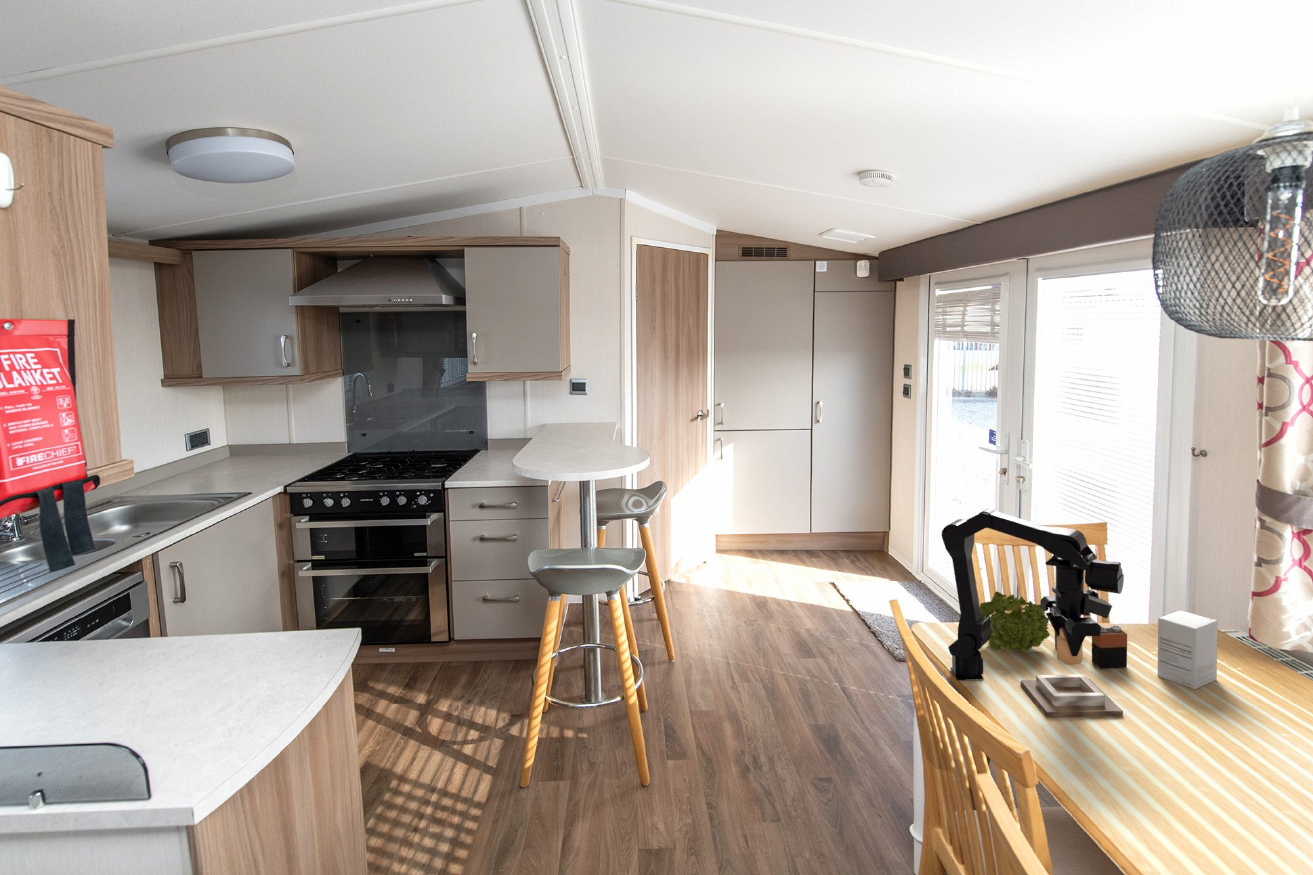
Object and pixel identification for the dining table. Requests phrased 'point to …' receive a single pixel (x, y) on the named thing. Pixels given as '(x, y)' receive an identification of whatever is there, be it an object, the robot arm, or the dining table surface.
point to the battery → (1110, 648)
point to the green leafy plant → (1015, 623)
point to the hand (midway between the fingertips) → (1069, 650)
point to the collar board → (1070, 696)
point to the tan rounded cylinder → (1066, 651)
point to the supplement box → (1187, 649)
